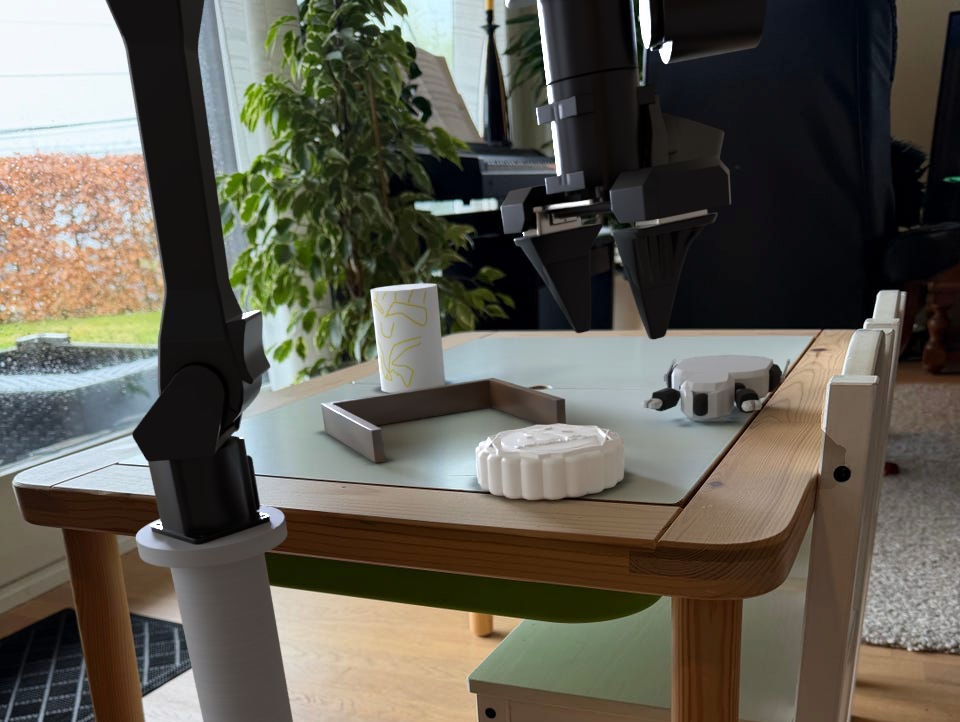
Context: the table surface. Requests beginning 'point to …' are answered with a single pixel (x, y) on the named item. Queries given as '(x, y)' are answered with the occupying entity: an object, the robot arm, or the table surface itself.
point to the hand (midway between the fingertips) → (618, 335)
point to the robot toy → (717, 385)
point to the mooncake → (550, 461)
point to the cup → (408, 337)
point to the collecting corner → (433, 410)
